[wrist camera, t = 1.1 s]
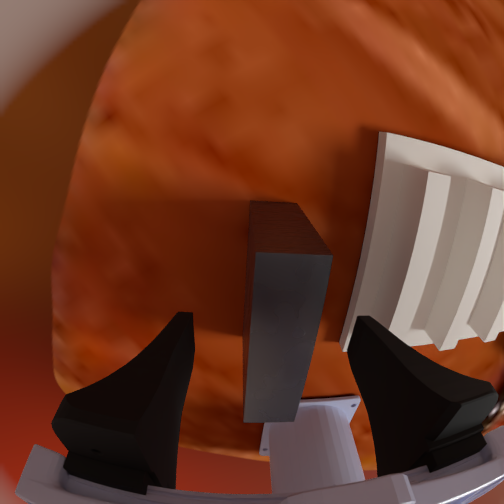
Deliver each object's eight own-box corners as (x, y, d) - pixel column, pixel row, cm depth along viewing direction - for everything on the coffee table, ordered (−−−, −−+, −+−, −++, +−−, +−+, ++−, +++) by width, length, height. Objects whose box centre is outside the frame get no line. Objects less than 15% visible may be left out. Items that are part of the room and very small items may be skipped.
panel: (280, 336, 19) (294, 421, 13) (242, 336, 19) (243, 422, 13) (296, 202, 16) (333, 255, 9) (250, 200, 16) (255, 252, 9)
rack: (504, 324, 21) (523, 344, 17) (339, 342, 20) (352, 377, 16) (547, 186, 15) (574, 198, 12) (379, 131, 14) (411, 134, 11)
